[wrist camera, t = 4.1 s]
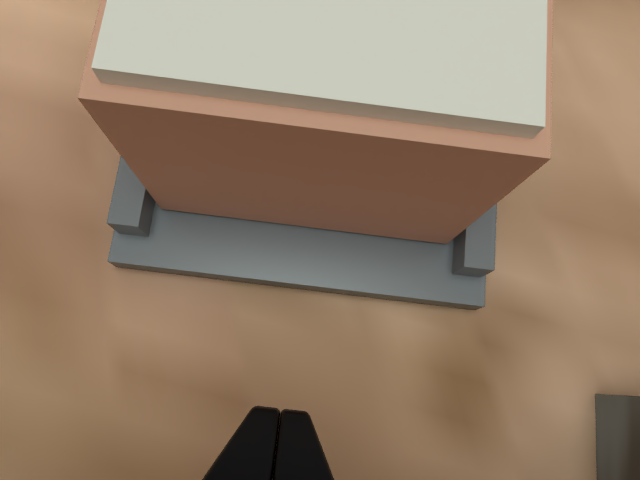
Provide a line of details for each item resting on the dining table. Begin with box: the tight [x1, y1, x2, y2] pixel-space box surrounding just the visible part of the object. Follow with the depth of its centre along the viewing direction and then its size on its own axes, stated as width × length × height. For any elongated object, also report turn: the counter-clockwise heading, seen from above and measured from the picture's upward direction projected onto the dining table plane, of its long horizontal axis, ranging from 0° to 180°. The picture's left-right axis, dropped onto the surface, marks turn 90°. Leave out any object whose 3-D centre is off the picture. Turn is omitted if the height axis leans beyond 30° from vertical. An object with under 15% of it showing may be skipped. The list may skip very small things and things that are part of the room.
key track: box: [107, 156, 497, 310], centre depth 21 cm, size 16×13×2 cm
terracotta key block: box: [78, 0, 553, 244], centre depth 16 cm, size 6×10×9 cm, turn 84°
